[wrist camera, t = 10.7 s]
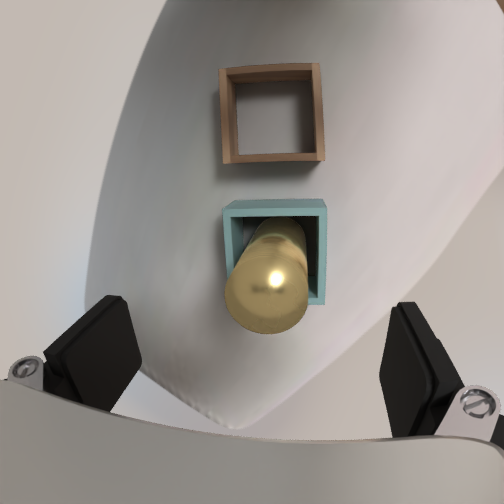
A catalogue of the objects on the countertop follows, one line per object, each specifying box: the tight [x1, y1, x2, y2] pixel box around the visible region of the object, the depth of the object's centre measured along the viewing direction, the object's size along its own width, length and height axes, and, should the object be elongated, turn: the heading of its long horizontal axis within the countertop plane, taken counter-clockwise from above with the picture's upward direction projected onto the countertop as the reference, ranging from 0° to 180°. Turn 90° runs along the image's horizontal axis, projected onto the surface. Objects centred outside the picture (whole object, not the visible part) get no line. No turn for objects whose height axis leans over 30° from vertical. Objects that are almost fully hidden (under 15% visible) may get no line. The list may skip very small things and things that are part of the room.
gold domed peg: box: [224, 216, 308, 334], centre depth 20 cm, size 4×4×10 cm
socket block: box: [219, 63, 325, 164], centre depth 20 cm, size 7×7×3 cm
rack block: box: [222, 199, 327, 305], centre depth 22 cm, size 7×7×4 cm
